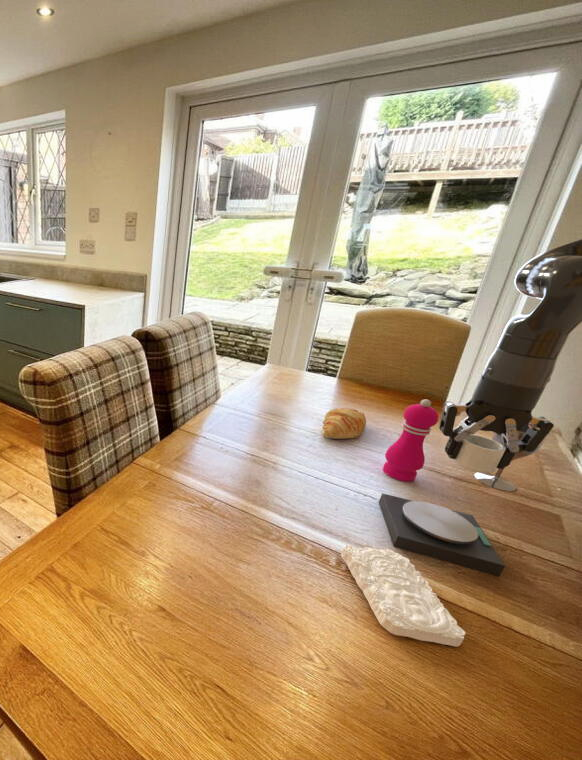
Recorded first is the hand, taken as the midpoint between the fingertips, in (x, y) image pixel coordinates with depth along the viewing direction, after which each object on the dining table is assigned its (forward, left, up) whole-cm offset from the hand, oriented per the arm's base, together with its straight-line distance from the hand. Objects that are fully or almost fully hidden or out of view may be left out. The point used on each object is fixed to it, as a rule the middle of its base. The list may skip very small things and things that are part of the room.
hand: (473, 461), depth 73 cm
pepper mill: (+3, -19, -16) cm, 25 cm away
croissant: (+13, -38, -16) cm, 43 cm away
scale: (+2, +3, -16) cm, 16 cm away
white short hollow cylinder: (0, 0, -1) cm, 1 cm away
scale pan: (+2, +3, -13) cm, 13 cm away
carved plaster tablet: (+12, +23, -16) cm, 31 cm away
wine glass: (-17, -26, -16) cm, 34 cm away
